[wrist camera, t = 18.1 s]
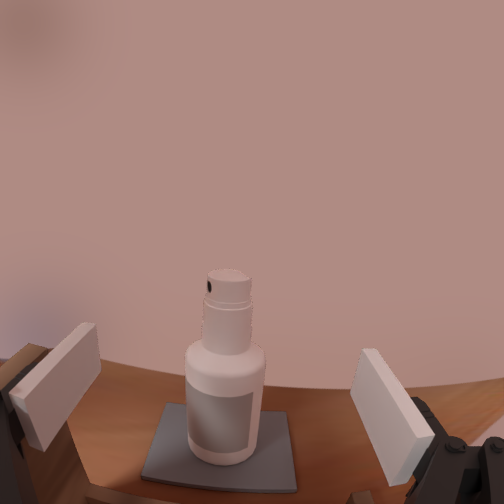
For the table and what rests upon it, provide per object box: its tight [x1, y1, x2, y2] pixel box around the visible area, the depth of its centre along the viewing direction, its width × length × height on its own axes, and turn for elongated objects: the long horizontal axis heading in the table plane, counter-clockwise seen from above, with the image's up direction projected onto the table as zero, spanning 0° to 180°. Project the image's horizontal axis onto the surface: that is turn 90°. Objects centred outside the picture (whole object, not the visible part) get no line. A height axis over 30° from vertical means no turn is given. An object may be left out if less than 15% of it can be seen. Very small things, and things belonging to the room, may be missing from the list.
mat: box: [141, 402, 297, 493], centre depth 28 cm, size 14×12×1 cm
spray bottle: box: [185, 269, 266, 466], centre depth 26 cm, size 7×7×18 cm
